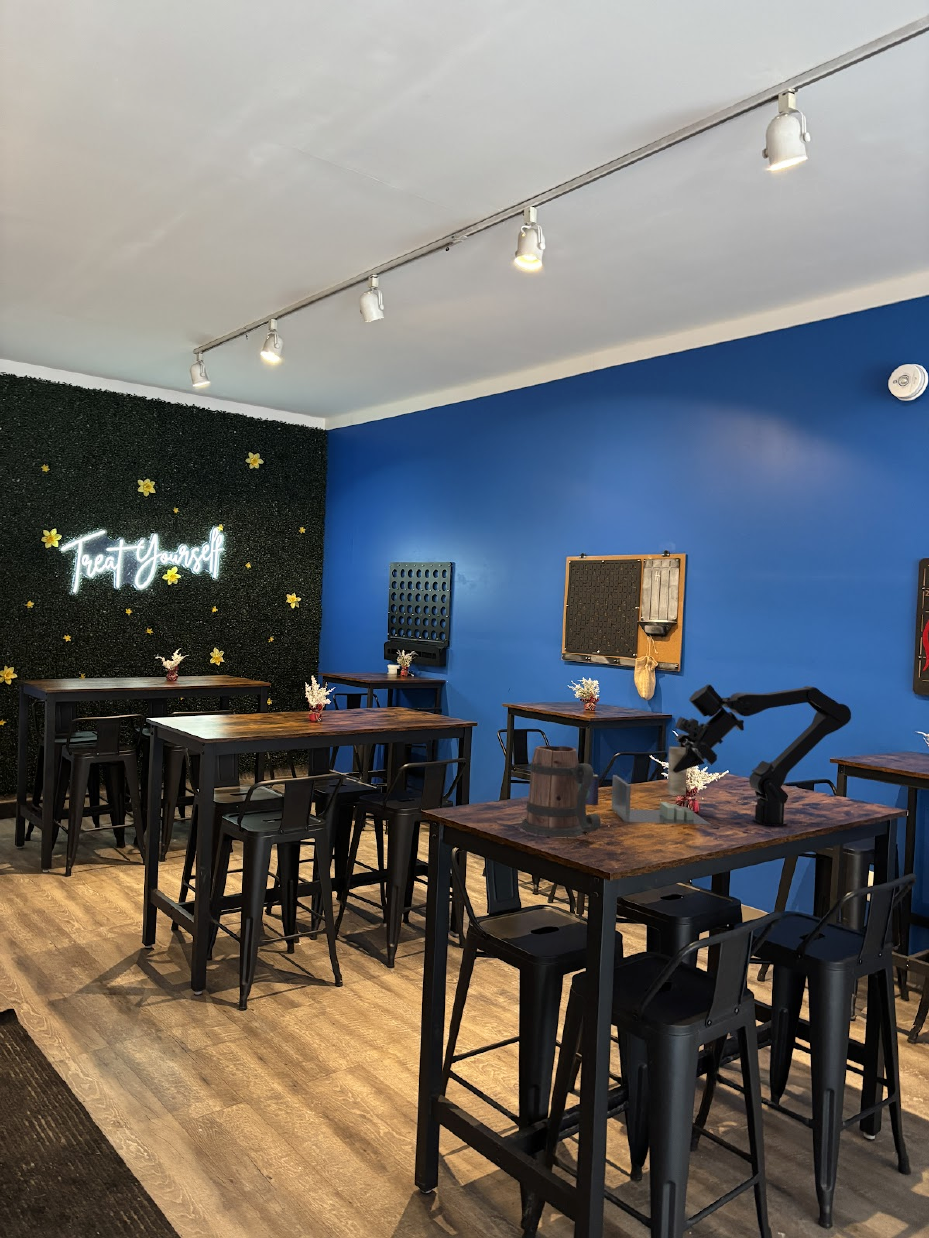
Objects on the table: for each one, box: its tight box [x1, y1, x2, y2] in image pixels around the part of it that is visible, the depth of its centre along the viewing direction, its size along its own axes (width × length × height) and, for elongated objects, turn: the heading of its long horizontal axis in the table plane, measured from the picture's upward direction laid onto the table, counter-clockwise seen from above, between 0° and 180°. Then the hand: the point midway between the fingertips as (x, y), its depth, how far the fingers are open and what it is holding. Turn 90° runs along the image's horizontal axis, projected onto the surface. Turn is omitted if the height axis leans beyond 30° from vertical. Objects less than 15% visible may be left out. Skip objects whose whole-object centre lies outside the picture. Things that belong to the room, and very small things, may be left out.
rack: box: [611, 774, 712, 825], centre depth 242 cm, size 22×16×10 cm
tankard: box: [519, 745, 602, 838], centre depth 222 cm, size 24×17×20 cm
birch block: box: [666, 746, 688, 796], centre depth 242 cm, size 4×3×12 cm
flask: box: [579, 769, 600, 806], centre depth 256 cm, size 9×3×11 cm, turn 65°
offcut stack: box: [659, 801, 695, 820], centre depth 242 cm, size 7×7×3 cm
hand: (672, 770), depth 242 cm, fingers closed on birch block, 3 cm apart
